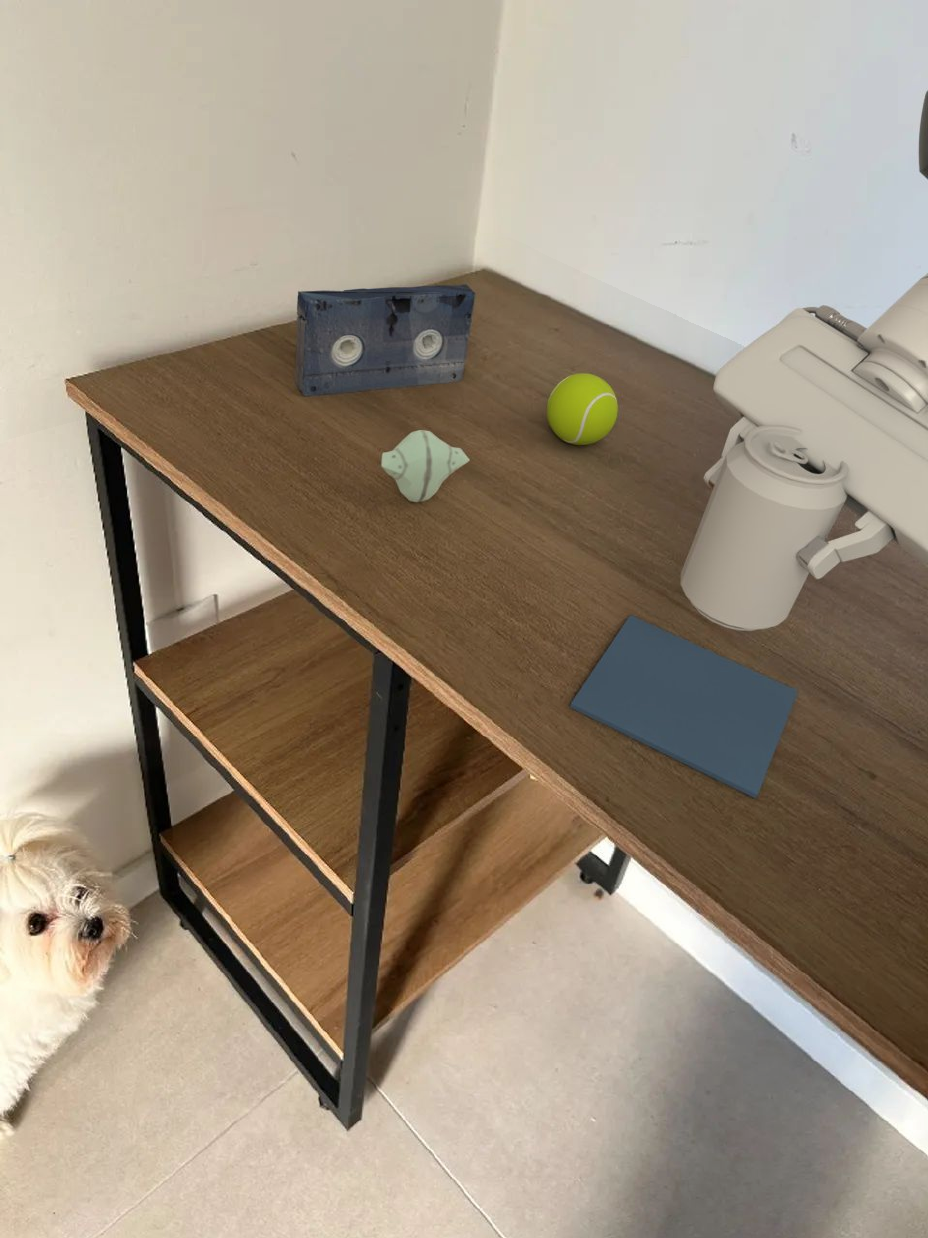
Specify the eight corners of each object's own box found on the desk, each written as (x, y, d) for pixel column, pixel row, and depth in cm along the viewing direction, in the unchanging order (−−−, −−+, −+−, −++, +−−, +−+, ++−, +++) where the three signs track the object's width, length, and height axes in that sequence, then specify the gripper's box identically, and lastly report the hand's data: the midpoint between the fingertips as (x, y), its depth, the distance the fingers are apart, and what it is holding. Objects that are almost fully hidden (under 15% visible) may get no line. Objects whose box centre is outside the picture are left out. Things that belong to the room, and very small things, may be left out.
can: (797, 645, 60) (877, 492, 53) (685, 631, 60) (749, 474, 52) (771, 573, 66) (840, 425, 58) (668, 560, 65) (724, 408, 58)
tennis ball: (621, 448, 96) (639, 386, 91) (574, 465, 92) (590, 401, 87) (574, 416, 99) (589, 355, 95) (527, 431, 95) (540, 368, 91)
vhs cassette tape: (454, 370, 103) (467, 282, 96) (465, 383, 101) (479, 294, 95) (292, 382, 96) (294, 288, 89) (301, 397, 94) (304, 302, 87)
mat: (795, 695, 71) (798, 690, 71) (755, 799, 63) (757, 794, 62) (628, 619, 75) (630, 614, 75) (569, 707, 67) (570, 702, 66)
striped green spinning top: (378, 516, 81) (385, 449, 76) (366, 489, 83) (372, 423, 79) (465, 509, 83) (476, 444, 79) (450, 483, 86) (460, 419, 82)
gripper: (799, 264, 60) (641, 417, 62) (1077, 424, 48) (868, 609, 50) (820, 323, 65) (672, 463, 67) (1077, 483, 53) (886, 648, 55)
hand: (757, 527), depth 58 cm, fingers closed on can, 7 cm apart
